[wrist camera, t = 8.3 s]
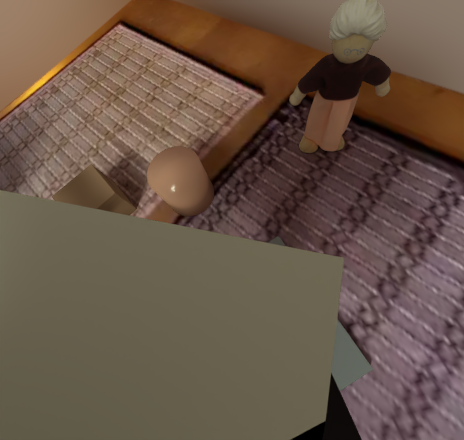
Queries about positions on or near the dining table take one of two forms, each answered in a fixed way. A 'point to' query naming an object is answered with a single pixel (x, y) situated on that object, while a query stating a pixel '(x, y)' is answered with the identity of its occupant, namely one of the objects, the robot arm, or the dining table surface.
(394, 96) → the dining table surface
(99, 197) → the walnut block
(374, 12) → the grandmother figurine
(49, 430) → the sage block
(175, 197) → the terracotta cylinder
